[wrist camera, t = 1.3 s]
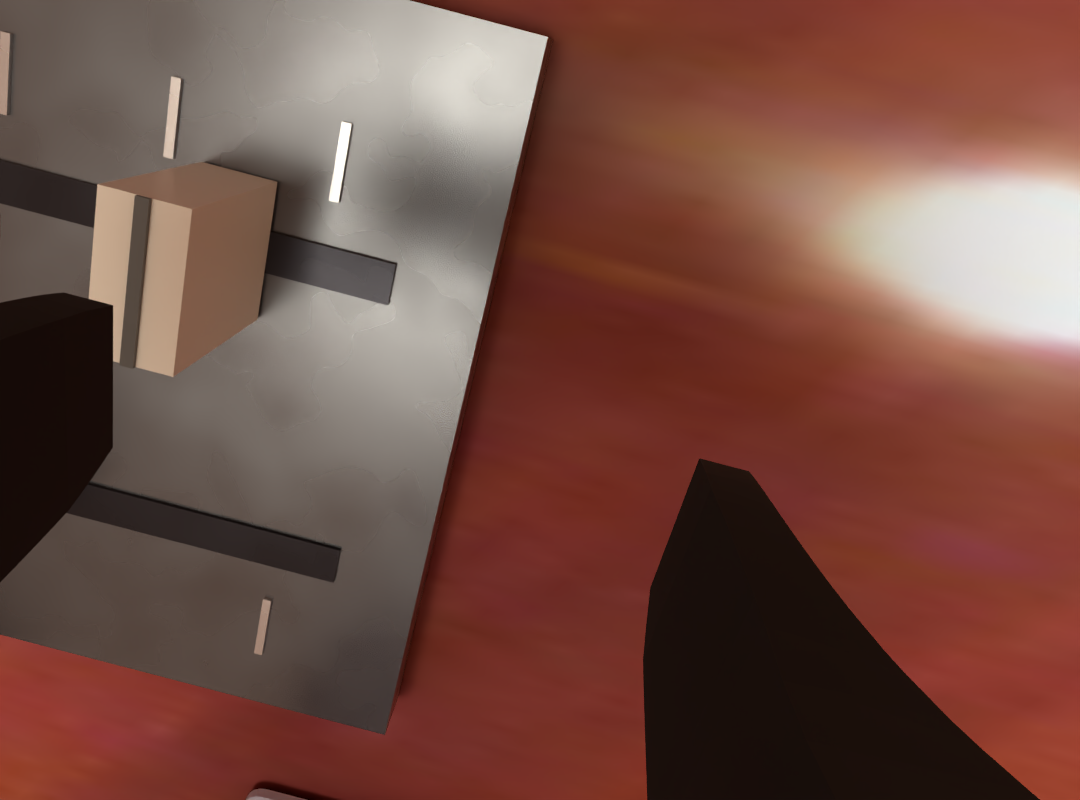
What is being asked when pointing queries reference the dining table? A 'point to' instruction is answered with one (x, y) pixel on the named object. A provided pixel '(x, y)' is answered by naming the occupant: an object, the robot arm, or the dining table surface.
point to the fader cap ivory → (180, 261)
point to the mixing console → (270, 326)
